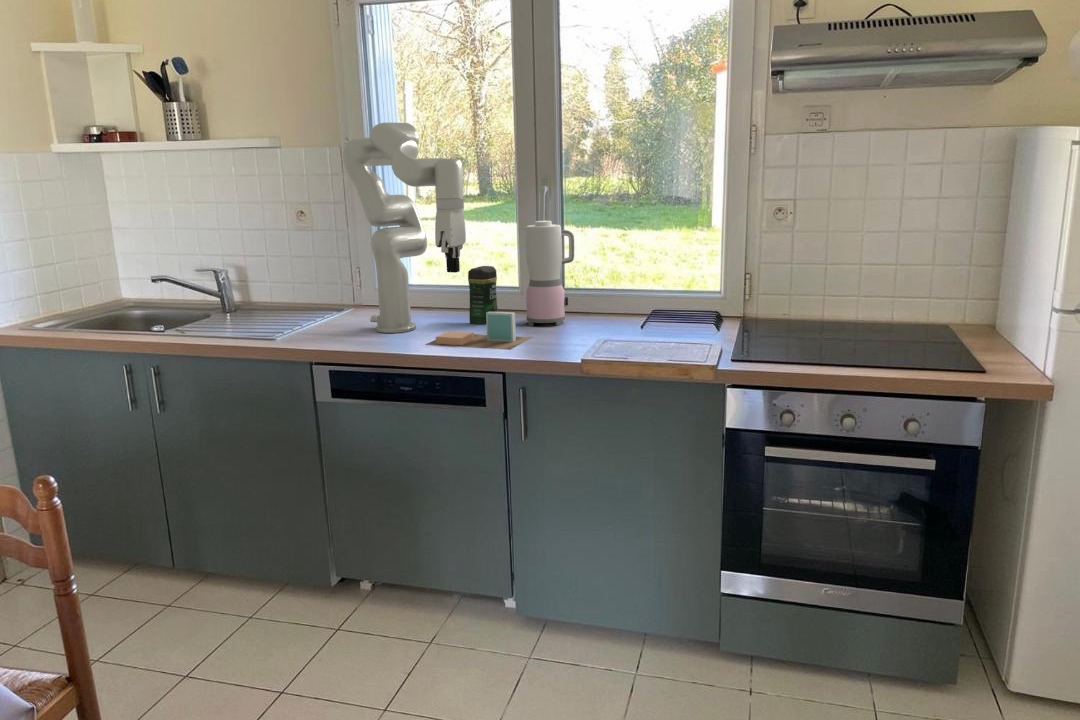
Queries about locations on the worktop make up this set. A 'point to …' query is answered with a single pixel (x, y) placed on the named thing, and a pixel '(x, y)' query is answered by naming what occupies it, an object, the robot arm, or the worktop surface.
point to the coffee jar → (482, 293)
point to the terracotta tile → (455, 338)
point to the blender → (546, 272)
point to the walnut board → (488, 343)
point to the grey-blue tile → (501, 326)
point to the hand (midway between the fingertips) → (453, 271)
